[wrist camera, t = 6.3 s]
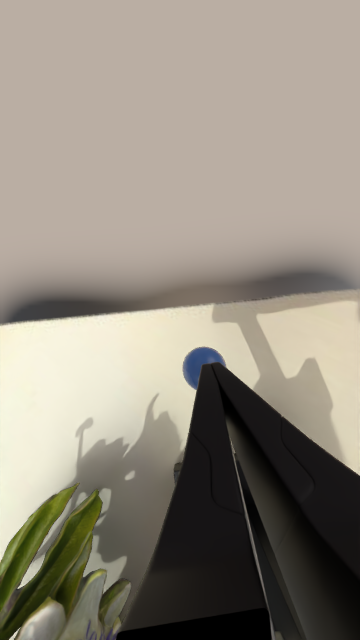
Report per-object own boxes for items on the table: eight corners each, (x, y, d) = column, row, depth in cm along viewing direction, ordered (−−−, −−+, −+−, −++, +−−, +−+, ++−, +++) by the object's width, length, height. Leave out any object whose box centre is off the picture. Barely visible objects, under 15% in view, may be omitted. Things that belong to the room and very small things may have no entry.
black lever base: (174, 463, 15) (152, 622, 5) (254, 450, 15) (367, 584, 5) (195, 634, 12) (226, 1620, 2) (294, 617, 12) (689, 1522, 3)
